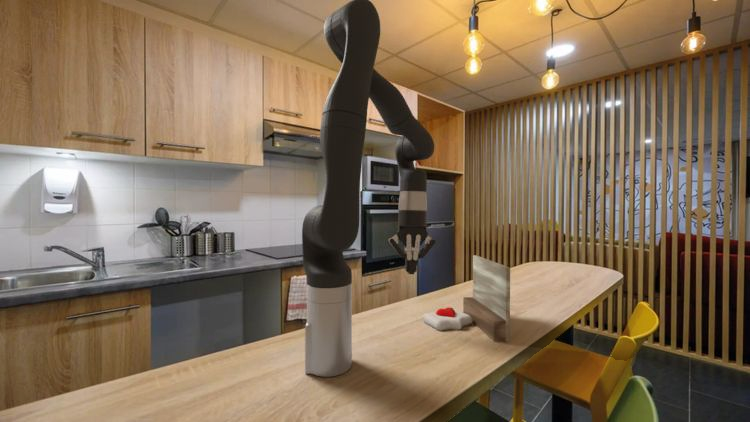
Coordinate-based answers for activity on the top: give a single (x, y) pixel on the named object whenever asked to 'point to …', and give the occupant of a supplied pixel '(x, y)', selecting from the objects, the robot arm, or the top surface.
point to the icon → (447, 319)
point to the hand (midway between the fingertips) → (410, 273)
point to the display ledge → (490, 299)
